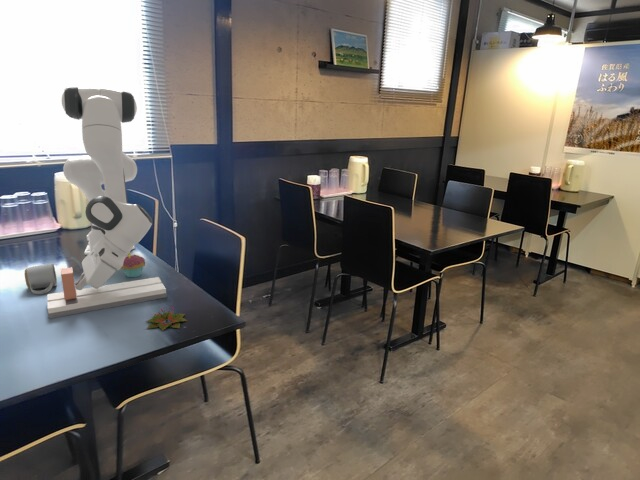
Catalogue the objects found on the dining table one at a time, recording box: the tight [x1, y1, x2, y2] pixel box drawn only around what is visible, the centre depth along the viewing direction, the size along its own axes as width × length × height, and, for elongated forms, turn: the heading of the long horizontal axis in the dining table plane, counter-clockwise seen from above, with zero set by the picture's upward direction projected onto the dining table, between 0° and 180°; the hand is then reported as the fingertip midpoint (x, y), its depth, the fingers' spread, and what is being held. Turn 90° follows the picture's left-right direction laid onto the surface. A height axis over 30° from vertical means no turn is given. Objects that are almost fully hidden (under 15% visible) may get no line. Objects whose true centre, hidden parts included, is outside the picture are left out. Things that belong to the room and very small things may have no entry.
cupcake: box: [120, 252, 146, 278], centre depth 153 cm, size 9×8×12 cm
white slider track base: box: [46, 276, 167, 319], centre depth 133 cm, size 11×32×3 cm, turn 121°
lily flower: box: [145, 306, 188, 332], centre depth 122 cm, size 12×12×5 cm
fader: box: [60, 266, 77, 300], centre depth 127 cm, size 5×3×10 cm, turn 31°
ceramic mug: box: [24, 262, 58, 296], centre depth 139 cm, size 11×8×8 cm
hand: (77, 287), depth 128 cm, fingers closed, pressing on fader
